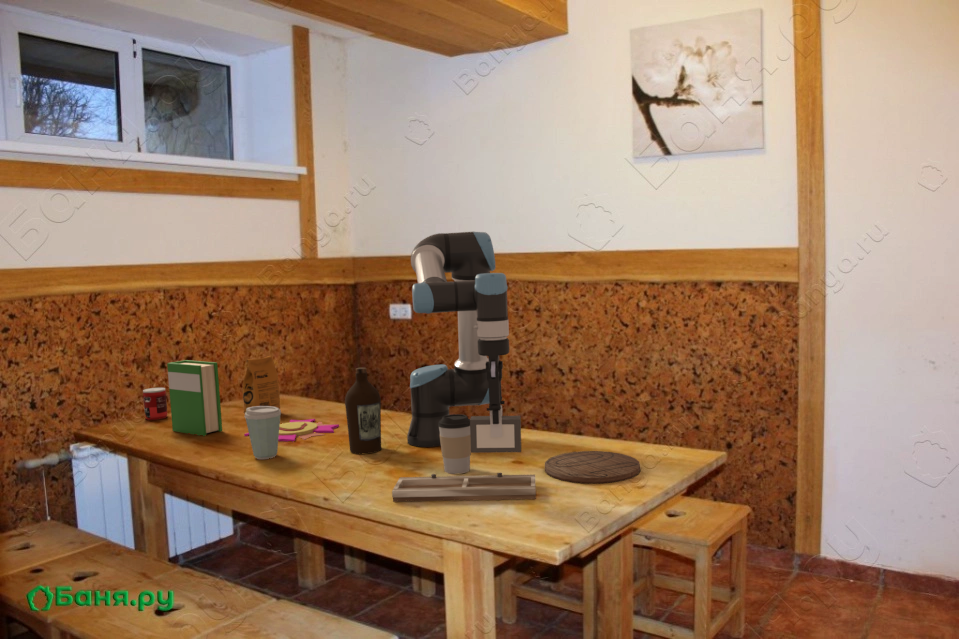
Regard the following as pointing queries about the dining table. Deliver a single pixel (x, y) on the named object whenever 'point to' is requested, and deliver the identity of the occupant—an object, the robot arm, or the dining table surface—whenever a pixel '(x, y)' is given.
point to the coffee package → (261, 384)
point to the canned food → (155, 403)
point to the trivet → (592, 467)
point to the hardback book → (194, 397)
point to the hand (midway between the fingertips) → (497, 433)
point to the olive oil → (363, 415)
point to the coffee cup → (455, 443)
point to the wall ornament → (302, 429)
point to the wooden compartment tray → (464, 488)
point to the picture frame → (488, 444)
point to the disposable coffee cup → (263, 430)
